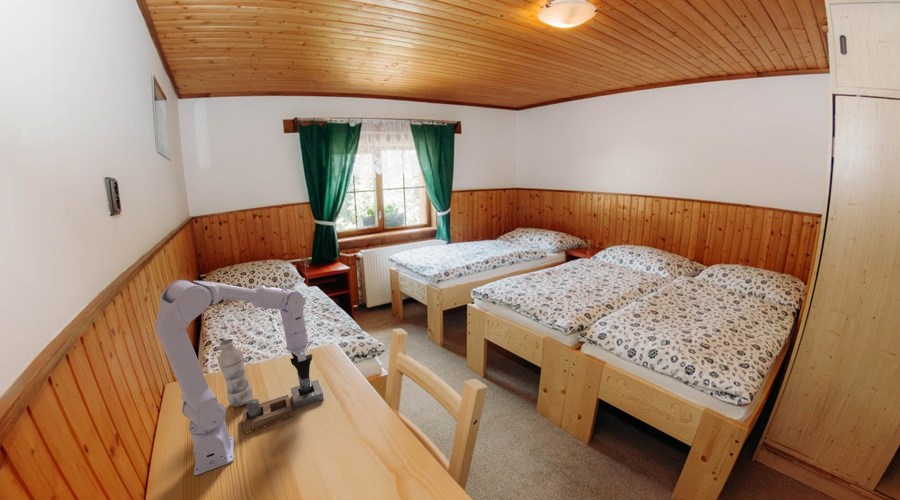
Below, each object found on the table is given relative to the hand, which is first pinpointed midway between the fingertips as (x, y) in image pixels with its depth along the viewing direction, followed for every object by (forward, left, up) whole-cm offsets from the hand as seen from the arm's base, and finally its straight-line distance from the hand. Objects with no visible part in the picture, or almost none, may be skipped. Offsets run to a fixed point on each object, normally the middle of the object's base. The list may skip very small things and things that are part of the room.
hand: (303, 372), depth 111 cm
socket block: (0, 0, -9) cm, 9 cm away
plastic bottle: (+9, +18, -9) cm, 22 cm away
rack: (-3, +11, -9) cm, 14 cm away
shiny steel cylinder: (0, 0, -9) cm, 9 cm away
